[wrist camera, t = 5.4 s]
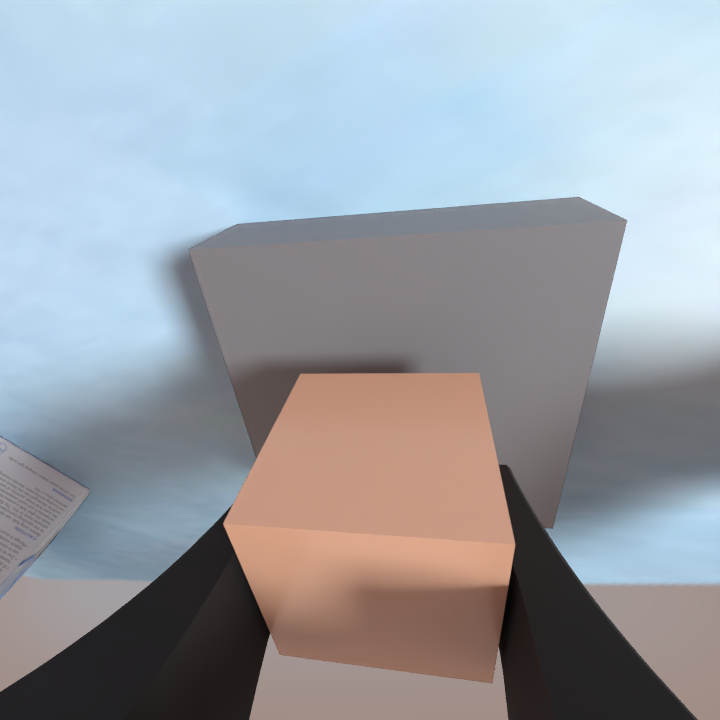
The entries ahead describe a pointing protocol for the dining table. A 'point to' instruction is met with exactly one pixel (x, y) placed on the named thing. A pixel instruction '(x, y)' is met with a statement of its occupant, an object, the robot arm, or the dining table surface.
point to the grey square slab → (424, 313)
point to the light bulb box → (30, 509)
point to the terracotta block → (380, 525)
